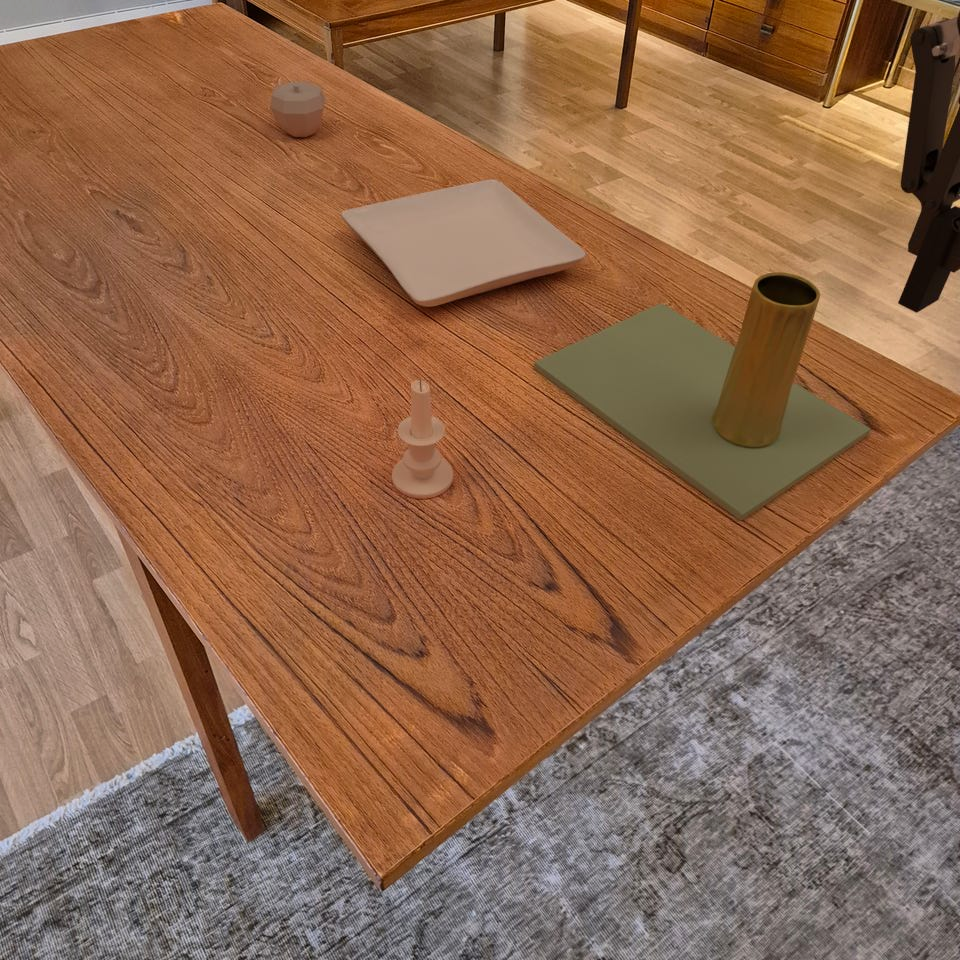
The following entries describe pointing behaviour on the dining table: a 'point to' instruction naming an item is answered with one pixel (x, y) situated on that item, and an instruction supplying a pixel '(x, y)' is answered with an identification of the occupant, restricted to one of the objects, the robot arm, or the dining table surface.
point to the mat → (694, 408)
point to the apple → (298, 107)
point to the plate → (462, 241)
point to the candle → (421, 450)
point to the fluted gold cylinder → (766, 359)
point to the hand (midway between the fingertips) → (918, 301)
